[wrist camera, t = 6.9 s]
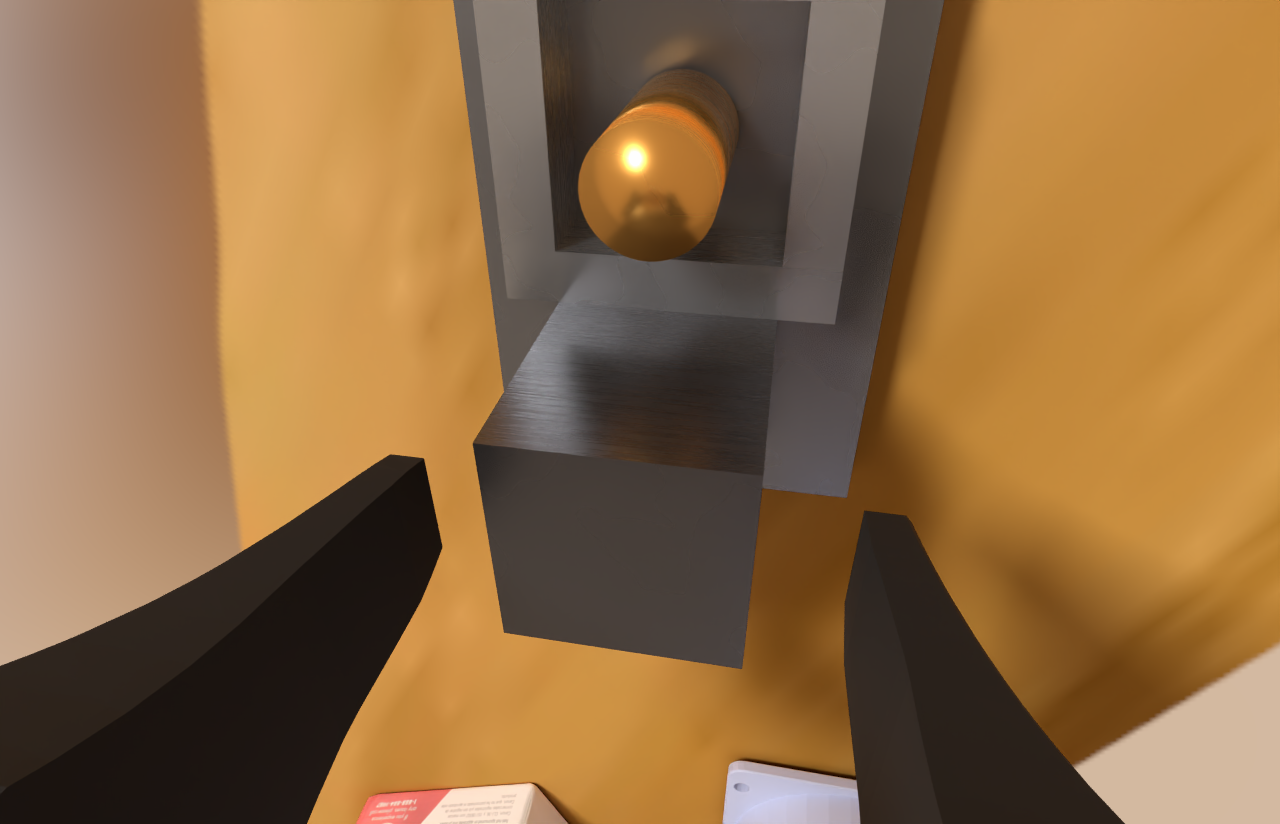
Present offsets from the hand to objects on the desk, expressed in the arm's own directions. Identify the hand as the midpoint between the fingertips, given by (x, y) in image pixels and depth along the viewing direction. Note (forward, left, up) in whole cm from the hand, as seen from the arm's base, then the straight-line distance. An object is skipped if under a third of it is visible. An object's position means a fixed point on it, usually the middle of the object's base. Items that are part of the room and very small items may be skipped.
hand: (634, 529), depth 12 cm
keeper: (+3, 0, -6) cm, 6 cm away
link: (+3, 0, -5) cm, 6 cm away
